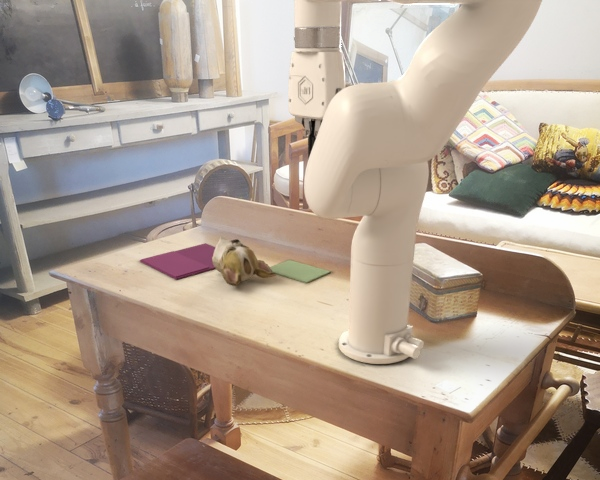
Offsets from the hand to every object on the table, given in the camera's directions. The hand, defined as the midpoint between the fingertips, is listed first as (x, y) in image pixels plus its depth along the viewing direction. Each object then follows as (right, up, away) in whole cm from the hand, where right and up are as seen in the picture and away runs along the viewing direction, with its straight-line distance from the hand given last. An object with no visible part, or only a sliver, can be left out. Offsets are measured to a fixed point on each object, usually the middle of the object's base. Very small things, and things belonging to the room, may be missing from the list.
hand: (317, 160), depth 107 cm
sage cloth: (-4, -15, +23) cm, 28 cm away
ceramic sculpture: (-16, -18, +19) cm, 31 cm away
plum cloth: (-28, -11, +30) cm, 42 cm away
